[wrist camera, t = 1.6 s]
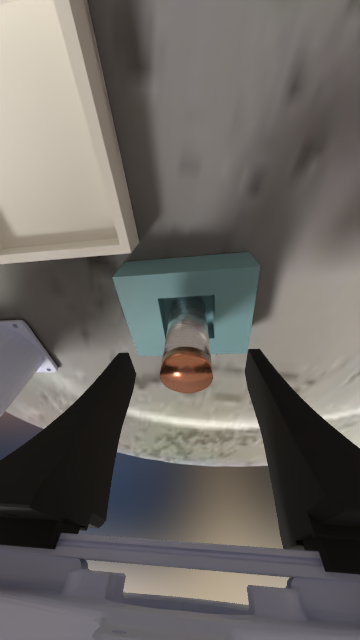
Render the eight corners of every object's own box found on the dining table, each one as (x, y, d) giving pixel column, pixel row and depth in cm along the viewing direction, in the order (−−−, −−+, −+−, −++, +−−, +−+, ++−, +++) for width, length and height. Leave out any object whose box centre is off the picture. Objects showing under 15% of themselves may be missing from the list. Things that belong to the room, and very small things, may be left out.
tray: (7, 254, 16) (-19, 265, 14) (-137, 23, 9) (-225, -17, 7) (139, 242, 15) (131, 253, 13) (81, -29, 8) (46, -93, 6)
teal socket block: (144, 335, 21) (138, 356, 18) (124, 261, 16) (112, 277, 14) (240, 331, 20) (247, 353, 17) (249, 251, 15) (260, 266, 13)
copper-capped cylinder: (173, 323, 18) (164, 393, 12) (168, 295, 16) (155, 360, 10) (206, 322, 17) (212, 392, 12) (205, 292, 16) (213, 359, 10)
